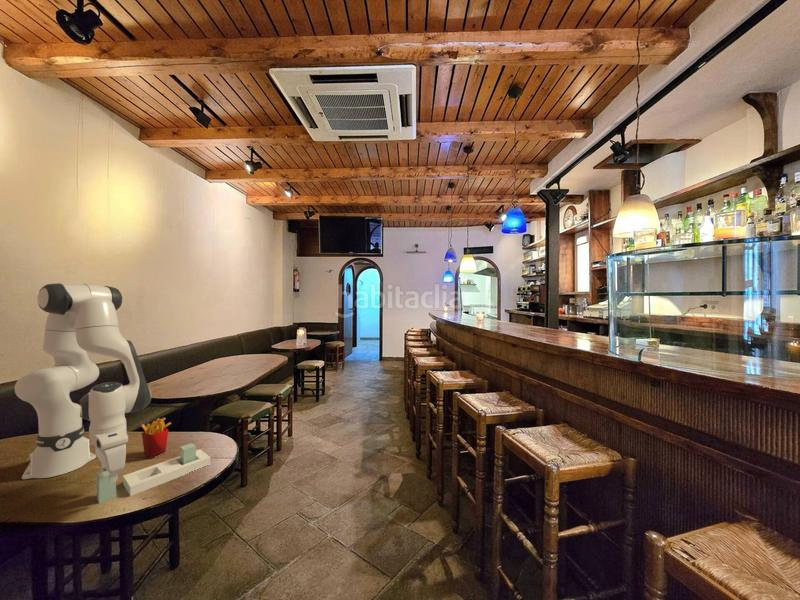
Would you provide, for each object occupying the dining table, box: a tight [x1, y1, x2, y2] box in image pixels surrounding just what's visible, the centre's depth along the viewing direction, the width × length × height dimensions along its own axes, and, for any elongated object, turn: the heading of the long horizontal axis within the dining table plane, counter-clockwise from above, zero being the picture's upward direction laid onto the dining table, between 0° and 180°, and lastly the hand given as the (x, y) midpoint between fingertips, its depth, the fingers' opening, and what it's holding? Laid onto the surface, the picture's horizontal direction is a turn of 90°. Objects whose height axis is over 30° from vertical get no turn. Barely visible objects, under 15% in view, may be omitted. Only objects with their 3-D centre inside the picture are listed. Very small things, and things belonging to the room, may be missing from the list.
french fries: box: [140, 417, 172, 459], centre depth 128 cm, size 9×8×15 cm
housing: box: [122, 442, 211, 497], centre depth 114 cm, size 10×24×8 cm, turn 142°
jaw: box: [96, 471, 117, 504], centre depth 101 cm, size 4×4×8 cm
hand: (109, 475), depth 101 cm, fingers open, 8 cm apart
